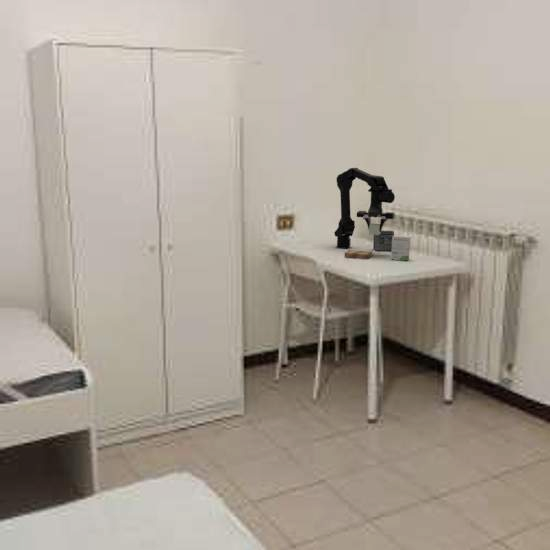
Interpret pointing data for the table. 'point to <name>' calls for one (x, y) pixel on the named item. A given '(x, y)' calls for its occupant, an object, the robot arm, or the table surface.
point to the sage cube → (374, 229)
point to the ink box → (400, 248)
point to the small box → (383, 241)
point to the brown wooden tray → (358, 254)
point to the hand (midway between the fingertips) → (374, 231)
